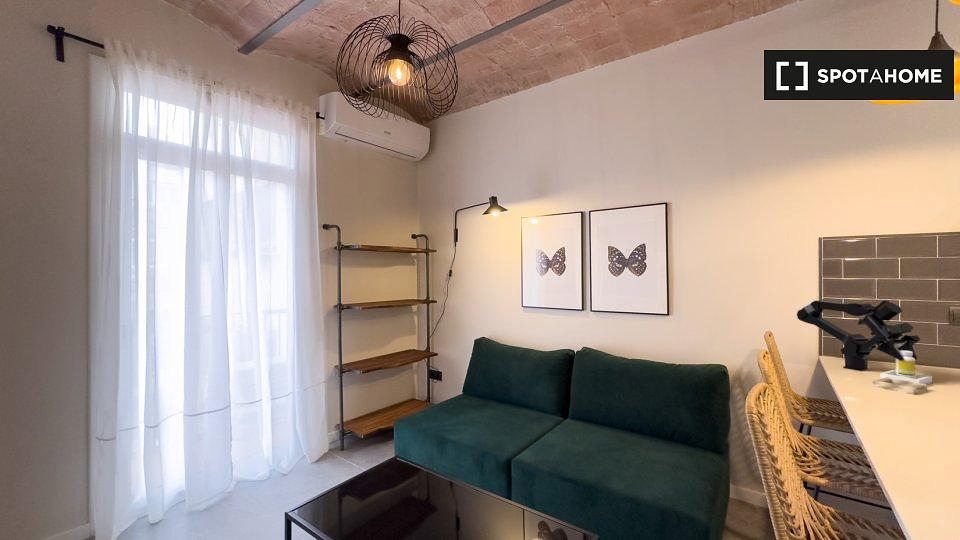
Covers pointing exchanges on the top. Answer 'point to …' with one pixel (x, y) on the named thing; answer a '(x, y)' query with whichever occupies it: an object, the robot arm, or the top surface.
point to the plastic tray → (917, 379)
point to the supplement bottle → (905, 364)
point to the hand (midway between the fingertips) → (909, 359)
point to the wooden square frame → (900, 385)
